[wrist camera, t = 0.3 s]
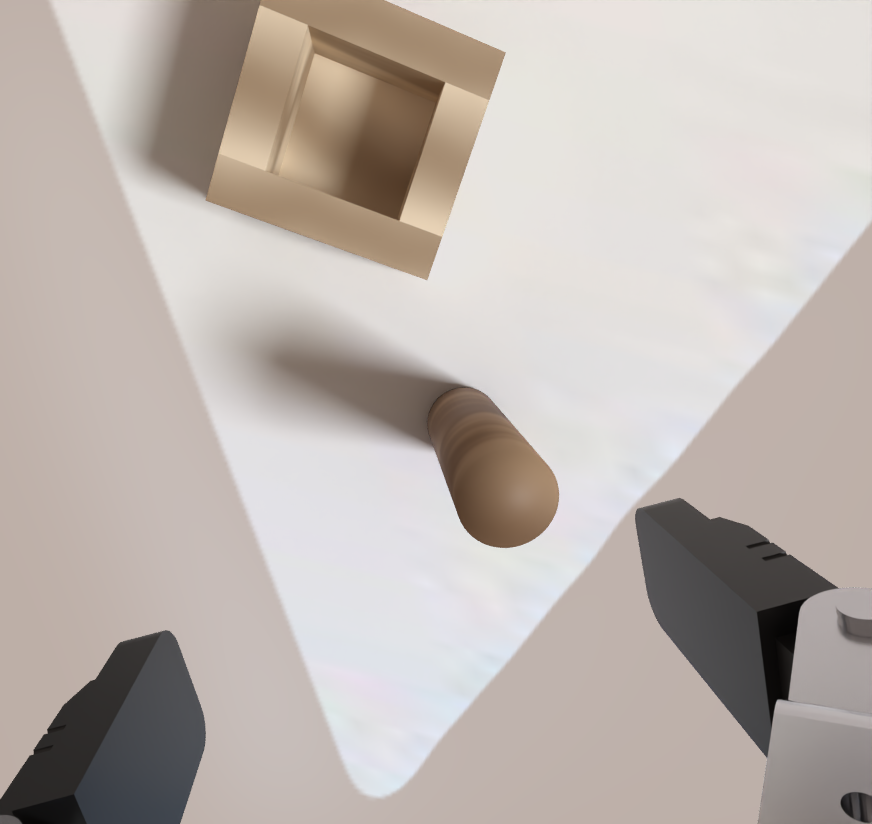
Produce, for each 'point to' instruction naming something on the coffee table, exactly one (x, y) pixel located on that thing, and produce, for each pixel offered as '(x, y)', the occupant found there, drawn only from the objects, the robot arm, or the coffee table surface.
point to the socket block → (354, 126)
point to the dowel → (491, 470)
